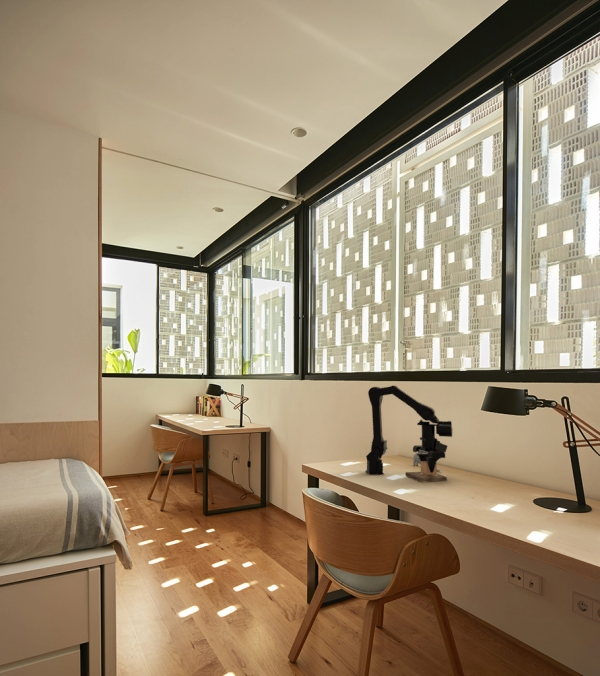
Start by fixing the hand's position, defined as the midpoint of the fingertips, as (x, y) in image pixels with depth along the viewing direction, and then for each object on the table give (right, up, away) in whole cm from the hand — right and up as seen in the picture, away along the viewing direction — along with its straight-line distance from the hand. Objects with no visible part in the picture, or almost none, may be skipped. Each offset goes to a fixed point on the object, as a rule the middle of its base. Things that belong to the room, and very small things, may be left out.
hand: (428, 471), depth 204 cm
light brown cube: (0, -1, 0) cm, 1 cm away
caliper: (+5, -5, +21) cm, 22 cm away
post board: (-1, -3, -1) cm, 3 cm away
